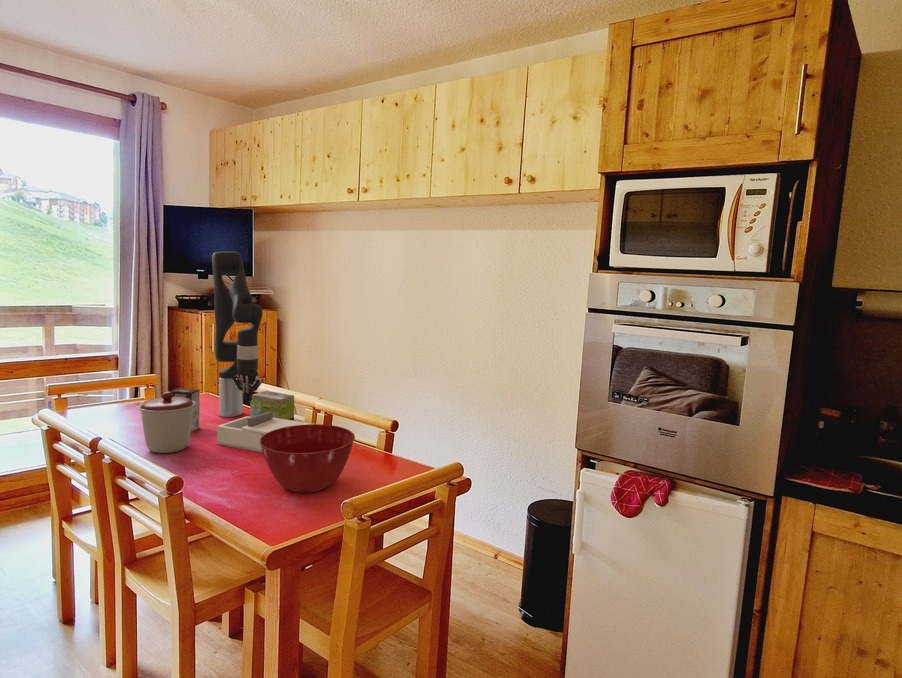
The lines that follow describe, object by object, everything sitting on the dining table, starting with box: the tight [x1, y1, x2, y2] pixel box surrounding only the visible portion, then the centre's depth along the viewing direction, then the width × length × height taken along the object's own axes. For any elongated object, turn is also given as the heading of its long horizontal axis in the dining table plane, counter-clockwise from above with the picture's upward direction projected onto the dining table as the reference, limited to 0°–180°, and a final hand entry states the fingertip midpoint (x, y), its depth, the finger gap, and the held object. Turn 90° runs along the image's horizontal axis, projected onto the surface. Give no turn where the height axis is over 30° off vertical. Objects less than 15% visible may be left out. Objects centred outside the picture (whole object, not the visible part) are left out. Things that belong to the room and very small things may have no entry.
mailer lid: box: [241, 411, 312, 434], centre depth 203 cm, size 21×17×4 cm
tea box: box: [249, 390, 295, 421], centre depth 225 cm, size 15×10×15 cm
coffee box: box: [170, 387, 201, 433], centre depth 220 cm, size 9×6×16 cm
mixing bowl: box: [260, 423, 356, 494], centre depth 169 cm, size 28×28×16 cm
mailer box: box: [216, 415, 265, 453], centre depth 208 cm, size 20×16×7 cm
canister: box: [137, 391, 195, 454], centre depth 195 cm, size 18×18×21 cm
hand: (247, 401), depth 207 cm, fingers closed
